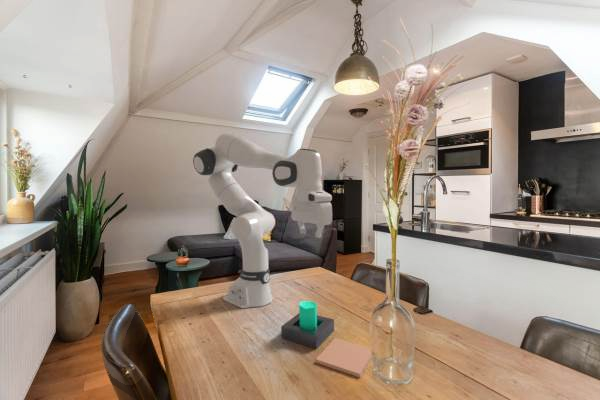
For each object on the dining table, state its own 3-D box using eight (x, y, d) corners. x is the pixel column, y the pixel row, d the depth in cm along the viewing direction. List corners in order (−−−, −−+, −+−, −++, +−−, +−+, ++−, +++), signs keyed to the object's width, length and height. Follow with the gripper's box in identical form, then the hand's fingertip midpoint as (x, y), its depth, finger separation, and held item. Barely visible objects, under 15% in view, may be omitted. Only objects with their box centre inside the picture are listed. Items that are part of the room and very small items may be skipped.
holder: (281, 338, 96) (281, 326, 95) (301, 322, 107) (301, 311, 106) (316, 349, 89) (316, 336, 89) (334, 330, 100) (333, 319, 100)
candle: (295, 334, 98) (295, 299, 97) (307, 328, 102) (307, 294, 101) (309, 341, 93) (308, 304, 93) (320, 334, 98) (320, 299, 97)
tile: (316, 362, 82) (315, 359, 82) (334, 341, 93) (334, 338, 93) (360, 377, 75) (360, 373, 75) (374, 352, 87) (374, 349, 87)
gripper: (286, 195, 107) (287, 232, 108) (319, 196, 90) (320, 240, 90) (301, 195, 110) (302, 231, 111) (335, 195, 93) (336, 238, 94)
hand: (310, 235), depth 101 cm, fingers open, 8 cm apart
